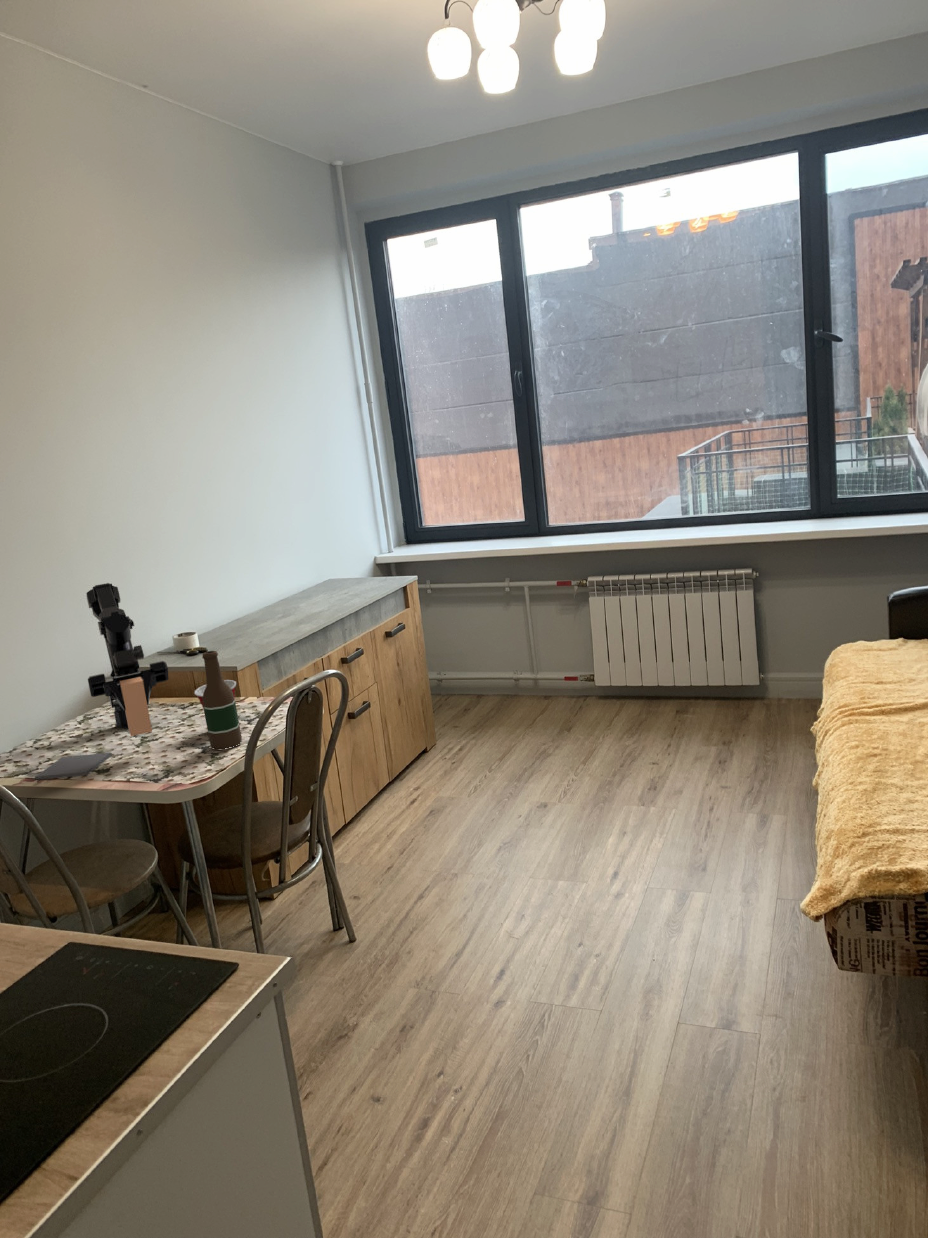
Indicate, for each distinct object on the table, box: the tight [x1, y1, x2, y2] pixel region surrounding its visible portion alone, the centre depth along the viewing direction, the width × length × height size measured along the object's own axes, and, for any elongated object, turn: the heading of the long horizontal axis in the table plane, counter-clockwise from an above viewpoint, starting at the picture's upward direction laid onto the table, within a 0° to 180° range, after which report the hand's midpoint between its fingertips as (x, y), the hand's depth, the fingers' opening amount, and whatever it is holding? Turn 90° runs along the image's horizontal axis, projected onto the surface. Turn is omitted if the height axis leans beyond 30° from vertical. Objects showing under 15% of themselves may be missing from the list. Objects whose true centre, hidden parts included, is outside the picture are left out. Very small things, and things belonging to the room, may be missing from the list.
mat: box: [34, 752, 112, 781], centre depth 229 cm, size 13×13×1 cm
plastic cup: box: [194, 679, 237, 708], centre depth 243 cm, size 11×11×12 cm
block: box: [120, 677, 153, 737], centre depth 229 cm, size 5×5×13 cm
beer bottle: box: [201, 650, 243, 750], centre depth 229 cm, size 8×8×24 cm
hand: (136, 706), depth 228 cm, fingers closed on block, 5 cm apart
